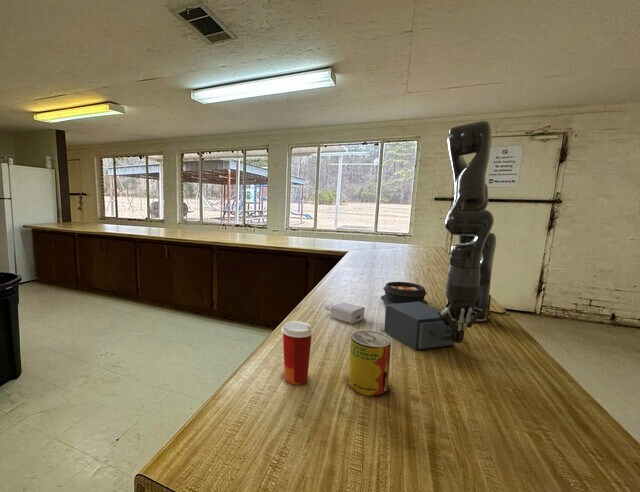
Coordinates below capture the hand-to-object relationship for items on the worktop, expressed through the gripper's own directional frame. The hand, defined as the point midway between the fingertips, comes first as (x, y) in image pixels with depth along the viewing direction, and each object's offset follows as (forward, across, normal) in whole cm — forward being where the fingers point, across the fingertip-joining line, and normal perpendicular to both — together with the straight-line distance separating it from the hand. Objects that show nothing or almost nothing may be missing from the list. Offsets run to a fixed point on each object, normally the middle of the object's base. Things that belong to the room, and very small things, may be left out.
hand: (457, 341), depth 90 cm
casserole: (+6, +20, +45) cm, 49 cm away
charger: (+5, -14, +39) cm, 41 cm away
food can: (+5, -32, -5) cm, 33 cm away
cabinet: (+5, 0, +15) cm, 15 cm away
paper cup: (+5, -48, +2) cm, 48 cm away
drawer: (+4, 0, +10) cm, 11 cm away
